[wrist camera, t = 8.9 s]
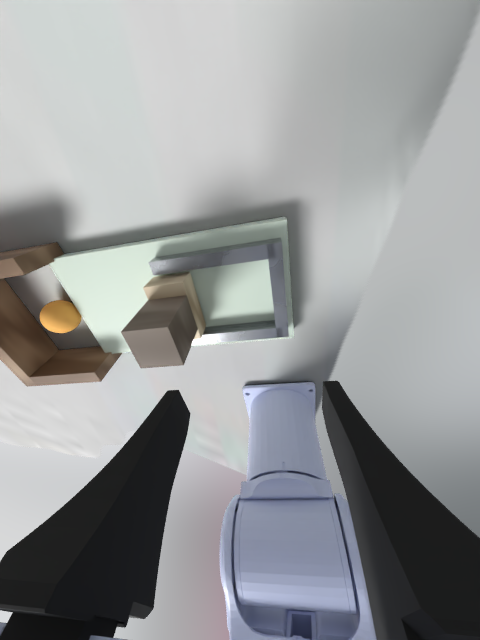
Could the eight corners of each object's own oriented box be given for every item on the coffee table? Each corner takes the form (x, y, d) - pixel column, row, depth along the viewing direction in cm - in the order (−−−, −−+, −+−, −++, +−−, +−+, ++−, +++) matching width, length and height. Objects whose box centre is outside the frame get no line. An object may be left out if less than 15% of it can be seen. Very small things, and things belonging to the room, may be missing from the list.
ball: (93, 323, 22) (62, 342, 20) (77, 319, 24) (46, 336, 22) (76, 295, 21) (40, 313, 18) (60, 293, 22) (25, 309, 20)
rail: (287, 328, 20) (288, 336, 19) (185, 337, 22) (181, 346, 21) (280, 237, 16) (281, 242, 15) (154, 257, 18) (148, 262, 17)
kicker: (206, 325, 20) (187, 376, 15) (174, 328, 21) (146, 378, 16) (189, 271, 18) (161, 312, 13) (153, 276, 18) (112, 317, 13)
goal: (122, 353, 25) (100, 381, 22) (56, 358, 26) (26, 386, 23) (57, 242, 19) (12, 258, 15) (-26, 257, 20) (-83, 274, 17)
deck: (292, 329, 22) (293, 337, 21) (112, 346, 25) (105, 354, 24) (285, 216, 16) (286, 219, 15) (57, 255, 19) (45, 260, 18)
